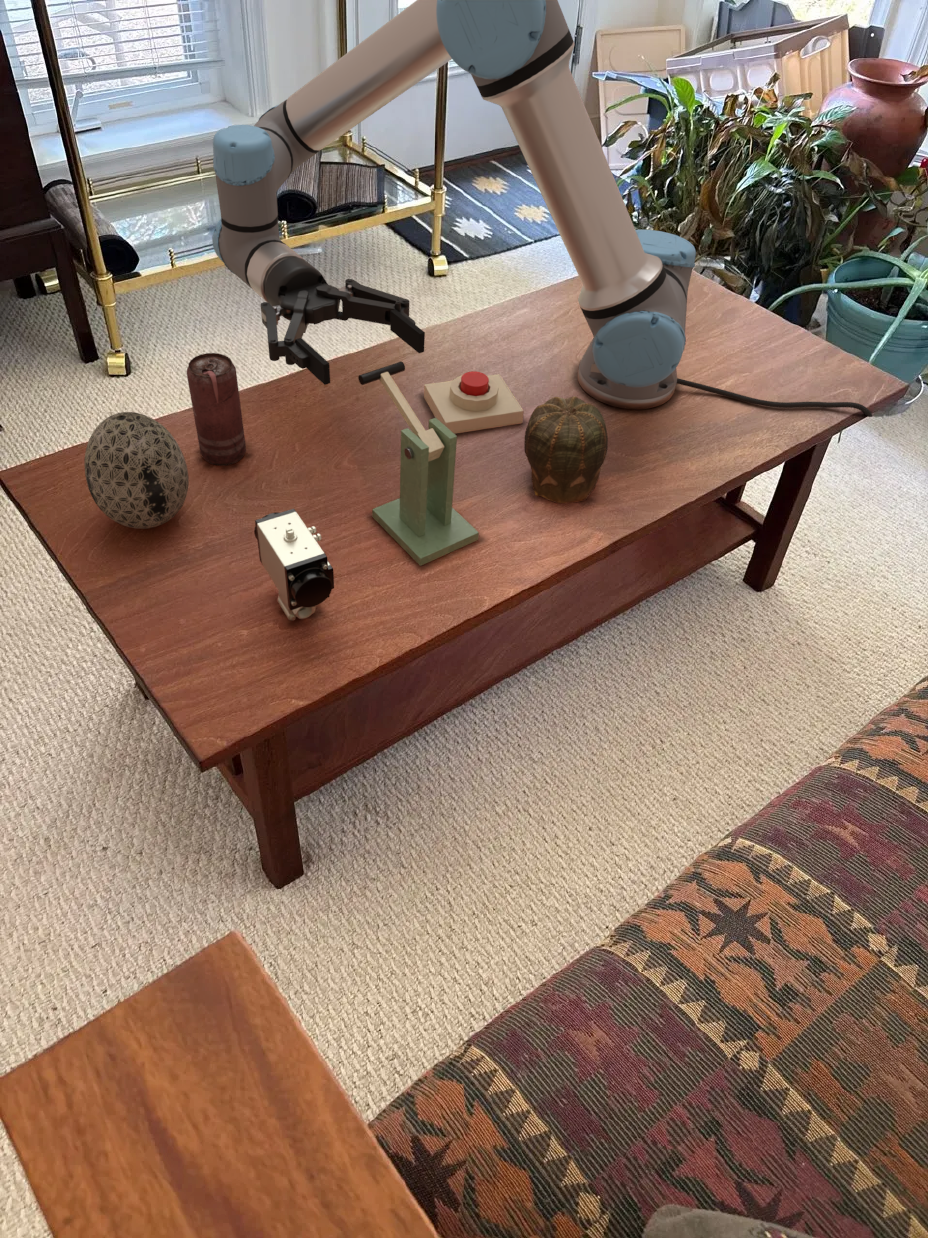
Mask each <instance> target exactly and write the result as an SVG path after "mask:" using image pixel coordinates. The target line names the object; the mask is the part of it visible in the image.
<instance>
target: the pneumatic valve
mask: <svg viewBox="0 0 928 1238" xmlns="http://www.w3.org/2000/svg"><path fill="white" fill-rule="evenodd" d="M254 525H255V526H254V529H253V534H254V537H255V539H256V540H257V549H258V557H259V562H260V564H261V565H262V566H263V569H264V570H265V572H266V573H267V575H268V577H269V578H270V579H271V581H272V583H273V584H274V586H275V587H276V590H277V595H278V597H277V603H278V605H279V606H280V607H281V610H282V611H283V612H284V614H285V616H286V618H287V619H288V621H295V620H296V618H298V619H299V620H305V619H308V618H309V617H310V616H312V615H313V614H314V613H316V610H317V606H319V605H320V604H322V603H323V602H325V601H326V600H327V599H328V598H330V595H331V594H332V591H333V590H334V589H335V577H334V575H335V574H334V567H333V566H332V565H331V563H330V562H329V559H328V555H327V554H326V553H325V551H324V550H323V548H322V547H321V546H320V544H319V543H318V542H322V539H323V538H322V535H321V533H317V531H318V530H317V528H316V526H314V525H313V526H311V527H307V525H306V524H305V522H304V521H303V519H302V518H301V516H300V515H299V513H298V512H297V511H296V508H291V509H288V510H284V511H282V512H278V511H277V512H270V513H267V514H265V515H264V516H263V517H261V518H258V519H255V520H254Z"/></svg>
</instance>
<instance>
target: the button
mask: <svg viewBox="0 0 928 1238" xmlns="http://www.w3.org/2000/svg"><path fill="white" fill-rule="evenodd" d="M461 375H462V377H461V391H462V392H463V393H465V394H467V395H472V396H481V395H485V394H486V393H487V391H488V384H489V378H488V377H487V376H488V375H486V373H484V372H480V371H475V370H472V371H467V372H465V373H463V374H461Z"/></svg>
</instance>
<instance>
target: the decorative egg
mask: <svg viewBox="0 0 928 1238" xmlns="http://www.w3.org/2000/svg"><path fill="white" fill-rule="evenodd" d="M84 476H85V481H86V484H87V488H88V491H89V493H90V497H92V499H93V502H94V503H95V504H96V506H97V507H98V509H99V510H100V511H101V512H102V513H103V514H104V515H105V516H106V517H107V518H109V519H110V520H111V521H113V522H114V523H117V524H119V525H121V526H124V527H128V528H132V529H141V530H145V529H152V528H156V527H159V526H162V525H164V524H166V523H167V522H169V521H171V519H173V518H174V517H175V516H176V515H177V514H178V513H179V511H180V510H181V509H182V507H183V506H184V503H185V502H186V498H187V496H188V492H189V486H190V485H189V484H190V483H189V481H190V480H189V470H188V465H187V462H186V458H185V455H184V453H183V451H182V449H181V447H180V445H179V443H178V441H177V440H176V439H175V437H174V436H173V434H172V433H171V432H170V431H169V430H168V429H167V428H166V427H165V426H164V425H163V424H161V423H160V422H158V421H157V420H155V419H154V418H152V417H150V416H147V415H145V414H142V413H139V412H135V411H122V412H117V413H114V414H112V415H109V416H108V417H106V418H105V419H103V420H102V421H101V422H100V423H99V424H98V425H97V426H96V427H95V429H93V431H92V432H91V435H90V437H89V439H88V441H87V444H86V449H85V452H84Z"/></svg>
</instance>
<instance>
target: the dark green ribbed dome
mask: <svg viewBox="0 0 928 1238" xmlns="http://www.w3.org/2000/svg"><path fill="white" fill-rule="evenodd" d="M523 442H524V443H523V444H524V445H523V446H524V447H523V451H524V455H525V456H526V458H527V461H528V464H529V467H530V470H531V473H530V474H531V485H532V489H533V492H534V495H535V496H536V497H542V498H544V499H545V500H548V501H550V502H553V503H556V504H570V503H571V504H573V503H579V502H584V501H587V499H588V497H589V496H590V495H591V493H592V492H593V491H594V489H595V488H596V485H597V482H598V480H599V477H600V474H601V470H602V466H603V464H604V463H605V460H606V458H607V454H608V450H609V436H608V429H607V425H606V421H605V418H604V416H603V414H602V412H601V411H600V409H599V408H598V407H597V406H595V405H594V404H592V403H587V402H586V401H585V400H583V399H582V398H579V397H578V396H576V395H575V396H570V397H566V398H564V397H561V396H554V397H551V398H549V399H548V400H546V401H545V402H544V403H542V404H540V405H538V406H536V408H534V409H533V411H532V413H531V415H530V417H529V419H528V422H527V426H526V428H525V432H524V441H523Z"/></svg>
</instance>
